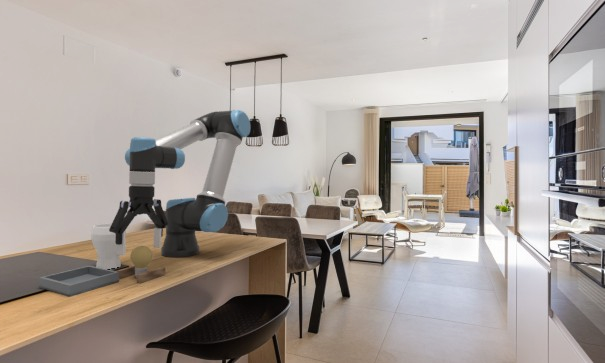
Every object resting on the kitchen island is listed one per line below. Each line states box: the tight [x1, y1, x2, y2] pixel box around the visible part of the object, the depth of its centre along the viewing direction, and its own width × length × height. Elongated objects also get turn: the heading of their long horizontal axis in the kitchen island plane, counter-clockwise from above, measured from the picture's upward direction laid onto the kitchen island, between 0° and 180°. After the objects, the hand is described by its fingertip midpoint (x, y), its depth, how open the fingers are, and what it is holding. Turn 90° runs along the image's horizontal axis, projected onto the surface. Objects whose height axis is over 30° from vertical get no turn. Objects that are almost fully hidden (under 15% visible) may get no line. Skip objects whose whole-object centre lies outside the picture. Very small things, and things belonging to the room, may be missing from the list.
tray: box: [38, 265, 120, 297], centre depth 103 cm, size 15×15×3 cm
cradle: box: [116, 265, 166, 284], centre depth 111 cm, size 10×10×2 cm
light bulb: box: [129, 245, 153, 277], centre depth 111 cm, size 6×6×10 cm
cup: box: [90, 222, 126, 270], centre depth 121 cm, size 11×11×15 cm
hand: (140, 250), depth 111 cm, fingers open, 13 cm apart
